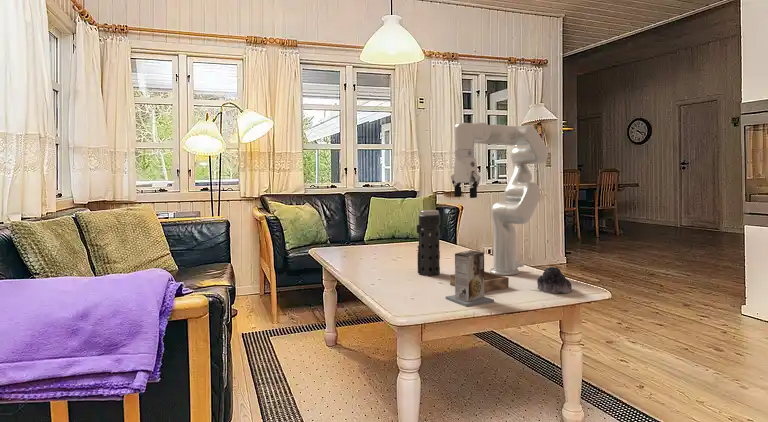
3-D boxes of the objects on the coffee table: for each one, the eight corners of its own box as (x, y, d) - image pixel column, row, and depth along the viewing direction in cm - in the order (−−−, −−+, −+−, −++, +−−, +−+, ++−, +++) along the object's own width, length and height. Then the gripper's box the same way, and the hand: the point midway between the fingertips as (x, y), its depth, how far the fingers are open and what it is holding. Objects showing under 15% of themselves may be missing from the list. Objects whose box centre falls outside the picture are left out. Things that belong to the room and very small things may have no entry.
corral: (482, 280, 209) (482, 270, 209) (508, 288, 195) (508, 277, 194) (450, 284, 202) (450, 274, 201) (475, 293, 187) (475, 282, 187)
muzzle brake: (417, 276, 218) (441, 276, 218) (417, 211, 216) (441, 211, 216) (416, 271, 228) (439, 271, 228) (415, 209, 225) (439, 209, 225)
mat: (472, 294, 186) (472, 292, 186) (494, 301, 175) (494, 299, 175) (445, 298, 180) (445, 296, 180) (465, 306, 169) (465, 304, 169)
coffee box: (470, 294, 183) (470, 249, 182) (485, 297, 178) (485, 251, 177) (454, 298, 177) (454, 252, 176) (468, 302, 172) (468, 255, 171)
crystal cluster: (556, 286, 200) (553, 261, 199) (582, 291, 187) (579, 264, 187) (529, 292, 194) (526, 267, 194) (553, 297, 182) (550, 270, 182)
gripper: (486, 153, 196) (487, 197, 198) (458, 154, 211) (459, 195, 213) (471, 154, 192) (472, 199, 194) (444, 155, 207) (445, 196, 209)
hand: (465, 197), depth 203 cm, fingers open, 9 cm apart
